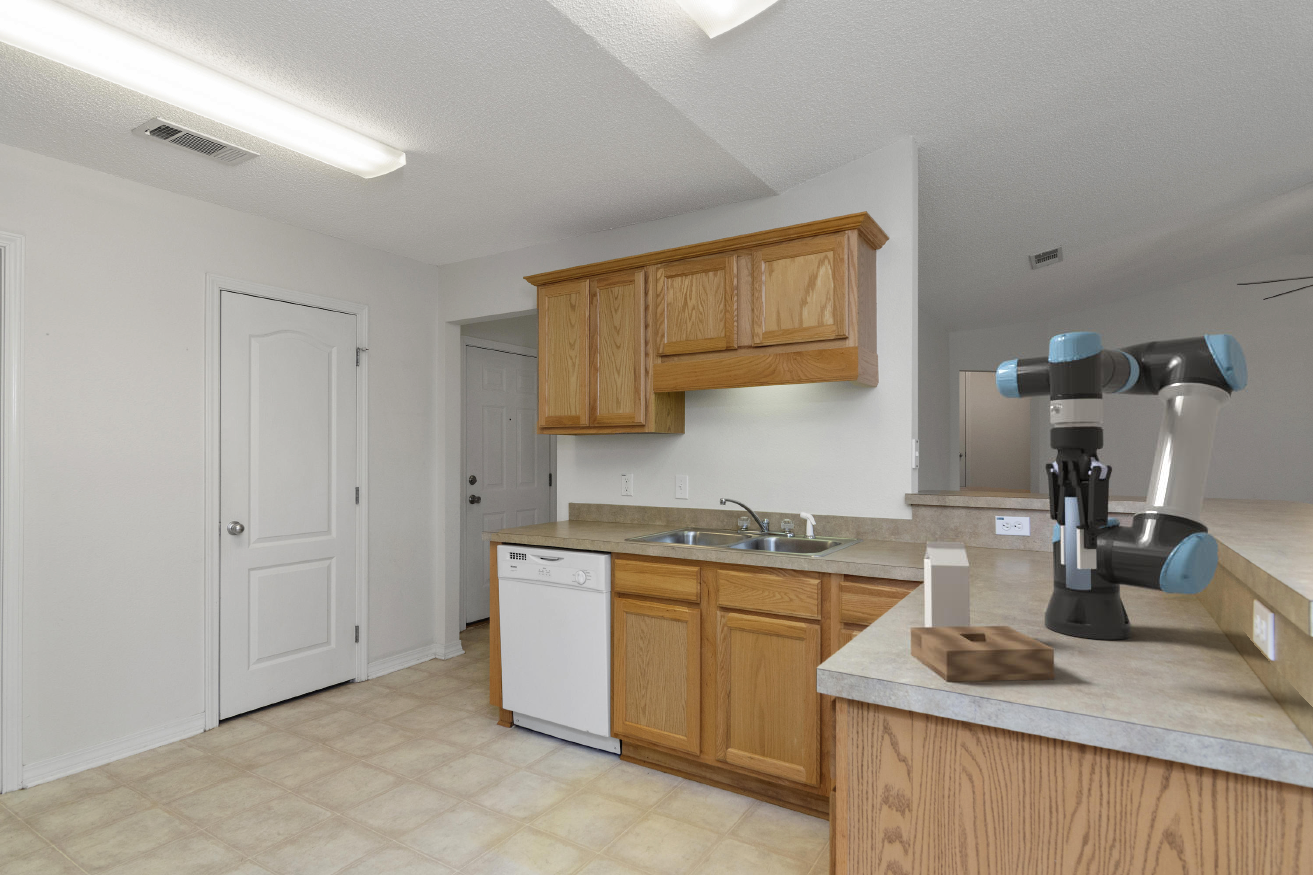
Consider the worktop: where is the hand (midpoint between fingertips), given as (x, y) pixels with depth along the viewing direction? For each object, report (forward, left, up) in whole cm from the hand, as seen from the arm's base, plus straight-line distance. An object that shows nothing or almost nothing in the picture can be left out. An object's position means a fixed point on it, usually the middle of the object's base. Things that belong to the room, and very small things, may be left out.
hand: (1078, 565), depth 112 cm
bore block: (+14, -6, -18) cm, 24 cm away
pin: (0, 0, -4) cm, 4 cm away
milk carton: (+11, -24, -19) cm, 32 cm away
